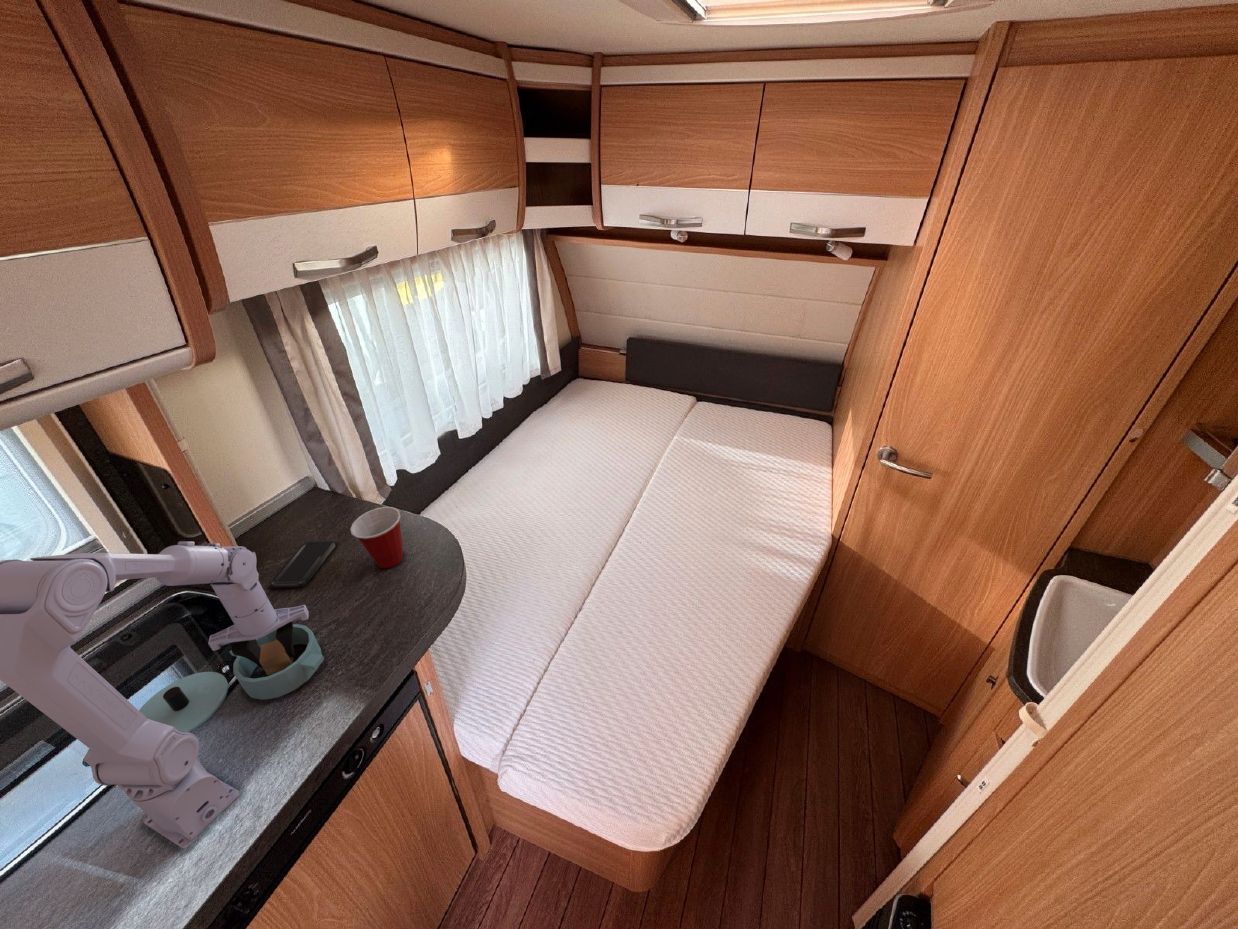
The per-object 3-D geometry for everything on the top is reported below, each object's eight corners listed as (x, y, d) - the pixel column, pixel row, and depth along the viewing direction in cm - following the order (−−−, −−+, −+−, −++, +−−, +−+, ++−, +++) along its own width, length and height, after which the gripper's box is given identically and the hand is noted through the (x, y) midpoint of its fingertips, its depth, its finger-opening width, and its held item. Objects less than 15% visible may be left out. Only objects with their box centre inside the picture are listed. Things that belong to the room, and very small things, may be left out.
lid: (179, 754, 82) (165, 737, 80) (113, 739, 85) (98, 723, 83) (248, 681, 94) (237, 665, 91) (187, 670, 96) (176, 654, 94)
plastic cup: (358, 560, 122) (342, 520, 116) (402, 540, 128) (389, 500, 122) (374, 583, 115) (358, 542, 109) (420, 560, 121) (408, 520, 115)
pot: (302, 709, 88) (290, 689, 86) (216, 692, 92) (202, 673, 89) (349, 650, 99) (340, 630, 96) (270, 637, 102) (260, 618, 100)
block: (293, 651, 97) (285, 636, 95) (292, 667, 93) (284, 652, 91) (269, 660, 95) (260, 645, 93) (267, 676, 92) (258, 661, 90)
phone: (268, 584, 114) (304, 541, 127) (270, 588, 115) (306, 545, 127) (303, 583, 114) (335, 540, 127) (305, 587, 114) (337, 544, 127)
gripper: (296, 576, 92) (321, 628, 99) (201, 605, 87) (234, 658, 94) (295, 601, 87) (322, 654, 94) (193, 634, 82) (229, 688, 88)
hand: (278, 658), depth 94 cm, fingers closed on block, 4 cm apart
